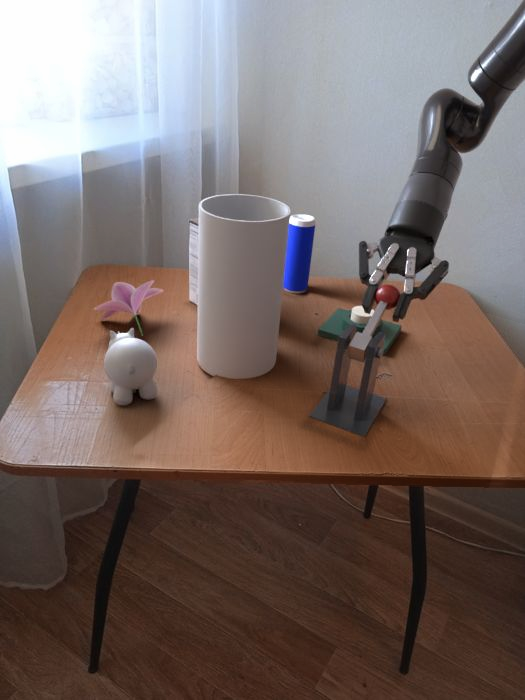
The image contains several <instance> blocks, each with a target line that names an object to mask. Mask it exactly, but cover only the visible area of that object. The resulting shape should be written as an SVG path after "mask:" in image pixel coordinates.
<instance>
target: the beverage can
mask: <svg viewBox="0 0 525 700" xmlns="http://www.w3.org/2000/svg"><path fill="white" fill-rule="evenodd" d="M315 231H316V219H315V217H314V216H312V215H310V214H305V213H295V214H292V215H290V221H289V231H288V242H287V252H286V262H285V272H284V283H283V290H284V291H286V292H287V293H290V294H302V293H305V292H306V291H307V290H308V288H309V279H310V274H311V273H310V272H311V263H312V256H313V255H312V254H313V247H314V238H315Z"/></svg>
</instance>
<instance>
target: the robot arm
mask: <svg viewBox="0 0 525 700" xmlns="http://www.w3.org/2000/svg"><path fill="white" fill-rule="evenodd" d="M467 81H468V82H467V83H468V85H469V86H470V87H471V89H472V90H473V92H474V93H475V94H476V95H477V96H478V97H479V98H480V100H481V101H482V102H480V103H479V104H477V103H476V102H474V101H472V100H471V99H469V98H467V97H466V96H465V95H462V94H461V93H459V92H458V91H456V90H454V89H452V88H448V87H445V88H440V89H438V90H436V91H435V92H433V93H432V94H431V95H430V96H429V97H428V98H427V100H426V101H425V103H424V104H423V107H422V109H421V113H420V117H419V121H418V131H417V146H416V147H417V148H416V154H415V159H414V162H413V165H412V168H411V169H410V173H409V175H408V178H407V180H406V182H405V184H404V185H403V188H402V189H401V191H400V194H399V196H398V199H397V201H396V203H395V205H394V208H393V212H392V213H391V216H390V219H389V221H388V224H387V226H386V229H385V231H384V234H383V236H381V238H380V239H379V240H378V241H377V242H372V243H367V241H366V240H361V241H359V243H358V276H359V281H360V283H361V284H362V285H365V286H366V289H365V292H364V295H363V297H362V300H361V306H362V307H363V308H364V312H365V313H367V314H370V313H371V310H372V309H373V308H374V305H375V303H376V301H375V294H376V291H377V290H378V289H379V288H380V287H381V286H383V284H384V282H385V281H386V280H387V279H388V278H389V277H390V275H391V274H392V275H398V276H401V277H404V287H403V292H400V297H399V300H398V302H397V305H396V307H395V308H394V310H393V313H392V317H391V318H392V322H395V323H399V321H400V320H404V319H405V317H406V315H407V313H408V310H409V307H410V305H411V302H412V301H414V300H415V299H416V300H417V299H419V300H421V301H424V300H426V299H427V298H428V297H429V296H430V294H431V293H432V292H433V291H434V290H435V289H436V287H438V286H439V284H440V283H441V282H442V281H443V279H445V277H446V276H447V275H448V274H449V269H450V263H449V261H448V260H446V259H444V260H441V259H440V258H438V257H436V256H435V255H436V254H435V253H436V252H435V249H436V246H437V243H438V240H439V237H440V235H441V232H442V229H443V226H444V224H445V221H446V220H447V218H448V214H449V210H450V207H451V203H452V198H453V196H454V195H453V194H454V192H455V189H456V187H457V183H458V181H459V178H460V175H461V173H462V169H463V165H464V163H463V158H462V156H461V155H460V154H467V153H471V152H473V151H475V150H476V149H478V148H479V147H480V146H481V145H482V144H483V142H484V141H485V139H486V138H487V137H488V134H489V132H490V130H491V129H492V126H493V125H494V122H495V121H496V119H497V117H498V115H499V114H500V112H501V110H502V109H503V107H504V106H505V104H506V103H507V101H508V100H509V98H510V97H511V95H513V93H514V92H515V91H516V90H517V89H518V88H519V87H520V86H521V85H522V83H523V82H524V81H525V0H522V1H521V2H520V4H519V6H518V7H517V8H516V10H515V11H514V12H513V14H511V16H510V17H509V18H508V19H507V22H505V24H504V25H503V26H502V27H501V29H500V30H499V31H498V32H497V33H496V35H495V36H494V37H493V39H491V40H490V42H489V43H488V44H487V45H486V47H485V48H484V49H483V50H482V51H481V53H480V55H479V56H478V57H477V58H476V59H475V61H474V62H473V63H472V64H471V66H470V68H469V69H468V71H467ZM376 252H377V253H378V256H379V258H380V261H379V263H378V264H377V266H376V268H375V270H374V272H373V273H372V275H371V274H370V262H369V261H370V260H371V259H373V258H374V255H375V253H376ZM430 265H431V266H430ZM428 266H430V273H429V275H428V276H427V277H426V278H425V279H424V280H423V281H422V282H421V283H420V285H419V286H415V285H416V275H417V274H418V273H420V272H422V271H423V270H424V269H426V268H427V267H428Z"/></svg>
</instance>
